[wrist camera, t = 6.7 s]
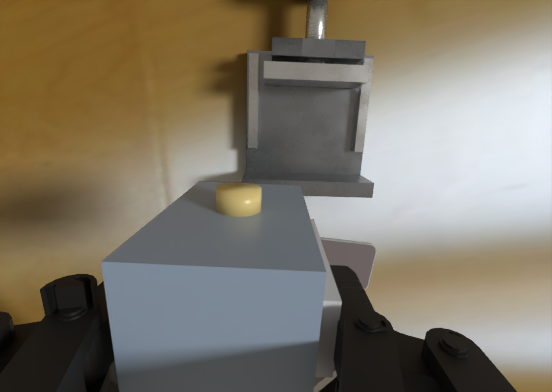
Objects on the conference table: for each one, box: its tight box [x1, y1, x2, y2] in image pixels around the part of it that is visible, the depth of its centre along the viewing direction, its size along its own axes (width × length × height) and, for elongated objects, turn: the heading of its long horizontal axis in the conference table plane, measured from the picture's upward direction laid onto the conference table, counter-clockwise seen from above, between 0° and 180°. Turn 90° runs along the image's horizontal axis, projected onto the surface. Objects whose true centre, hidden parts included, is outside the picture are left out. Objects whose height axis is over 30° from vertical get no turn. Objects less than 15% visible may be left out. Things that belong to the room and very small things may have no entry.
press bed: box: [242, 37, 374, 198], centre depth 31 cm, size 14×15×7 cm
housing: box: [101, 181, 326, 392], centre depth 11 cm, size 5×7×8 cm
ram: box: [264, 0, 370, 89], centre depth 28 cm, size 10×10×5 cm
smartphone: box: [320, 237, 376, 290], centre depth 39 cm, size 7×1×15 cm
